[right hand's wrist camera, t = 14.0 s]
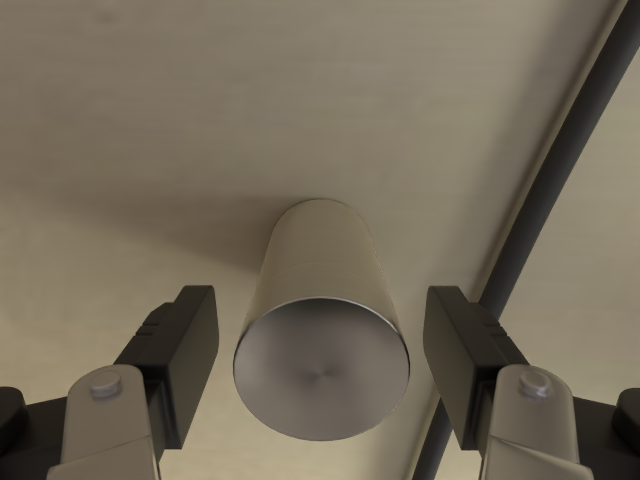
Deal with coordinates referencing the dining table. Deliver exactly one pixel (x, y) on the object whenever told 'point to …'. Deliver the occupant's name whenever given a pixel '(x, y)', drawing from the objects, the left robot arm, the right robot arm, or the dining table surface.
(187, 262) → the dining table surface
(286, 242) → the tin
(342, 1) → the dining table surface
